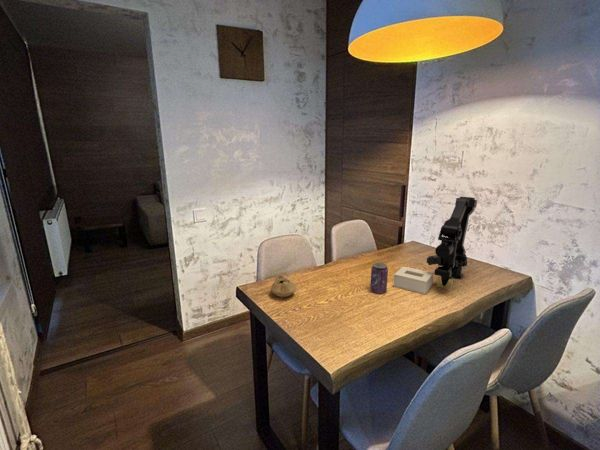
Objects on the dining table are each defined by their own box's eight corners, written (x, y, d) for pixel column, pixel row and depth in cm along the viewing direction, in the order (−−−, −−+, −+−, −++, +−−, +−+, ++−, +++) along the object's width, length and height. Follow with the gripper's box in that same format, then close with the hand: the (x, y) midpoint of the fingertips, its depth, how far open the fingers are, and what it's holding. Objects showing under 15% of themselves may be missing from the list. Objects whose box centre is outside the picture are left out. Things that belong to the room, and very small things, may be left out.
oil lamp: (286, 284, 149) (286, 268, 147) (301, 297, 136) (301, 280, 134) (264, 289, 144) (263, 272, 143) (277, 303, 132) (277, 285, 130)
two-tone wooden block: (438, 284, 149) (439, 274, 148) (452, 287, 146) (453, 277, 144) (436, 286, 147) (437, 276, 146) (450, 289, 144) (452, 279, 142)
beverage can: (367, 288, 145) (368, 263, 142) (380, 286, 147) (382, 261, 144) (375, 295, 138) (377, 269, 136) (389, 292, 141) (391, 267, 138)
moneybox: (402, 277, 156) (403, 266, 155) (432, 285, 148) (433, 272, 147) (393, 286, 147) (394, 274, 145) (425, 294, 139) (426, 281, 137)
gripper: (434, 243, 154) (431, 274, 158) (423, 254, 139) (420, 287, 143) (460, 247, 148) (456, 279, 152) (451, 259, 133) (447, 293, 137)
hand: (444, 284), depth 146 cm, fingers closed on two-tone wooden block, 2 cm apart
